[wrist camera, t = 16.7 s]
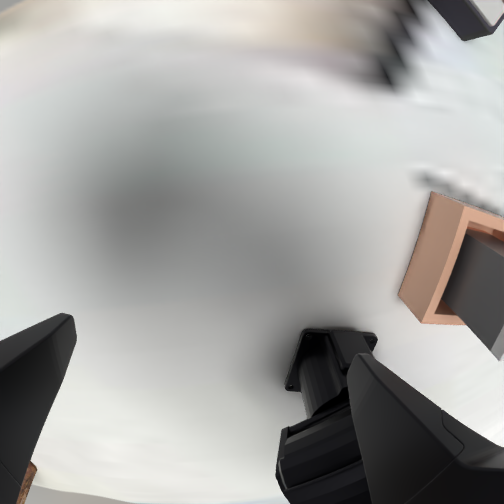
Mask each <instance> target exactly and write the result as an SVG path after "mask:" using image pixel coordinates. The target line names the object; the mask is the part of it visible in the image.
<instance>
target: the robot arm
mask: <svg viewBox="0 0 504 504" xmlns="http://www.w3.org/2000/svg"><path fill="white" fill-rule="evenodd" d="M306 335H310V336H309V337H306ZM371 339H372V340H371ZM370 340H371V341H370ZM377 340H378V339H377V336H376V335H375V334H373V333H361V332H354V331H339V330H331V331H329V330H317V329H306V330H304V331H303V332H302V333H301V336H300V339H299V343H298V346H297V349H296V352H295V355H294V358H293V361H292V364H291V367H290V370H289V373H288V376H287V378H286V381H285V389H286V390H287V391H295V392H302V397H303V401H304V406H305V410H306V415H307V420H304V421H302V422H300V423H298V424H296V425H293V426H291V427H289V426H288V427H286V428H284V429H282V431H281V438H280V444H279V451H278V457H277V464H276V474H275V476H276V479H277V481H278V484H279V486H280V489H281V491H282V492H283V494H284V496H285V497H286V498H287V500H288V501H289V503H290V504H504V447H501V446H498V445H496V444H494V443H493V442H491V441H489V440H488V439H486V438H485V437H483V436H481V435H480V434H478V433H476V432H475V431H473V430H471V429H470V428H468V427H467V426H465V425H464V424H462V423H461V422H459V421H458V420H456V419H455V418H453V417H452V416H451V415H449V414H448V413H447V412H445V411H444V410H441V408H440V407H439V406H437V405H436V404H435V403H433V402H432V401H430V400H429V399H428V398H426V397H425V396H424V395H422V394H421V393H420V392H418V391H417V390H416V389H414V388H413V387H412V386H410V385H409V384H408V383H406V382H405V381H404V380H402V379H401V378H400V377H398V376H397V375H396V374H394V373H393V371H390V370H389V369H388V368H387V367H385V366H384V365H383V364H381V363H380V362H379V361H377V360H376V359H375V358H374V356H373V354H372V352H373V350H374V347H375V345H376V343H377ZM76 341H77V335H76V329H75V322H74V318H73V316H72V315H69V314H65V313H60V314H57V315H55V316H53V317H51V318H49V319H47V320H44V321H42V322H40V323H38V324H36V325H34V326H31V327H29V328H27V329H25V330H23V331H21V332H18V333H16V334H14V335H12V336H10V337H8V338H6V339H4V340H1V341H0V504H16V503H17V500H18V497H19V493H20V490H21V486H22V483H23V480H24V477H25V474H26V471H27V468H28V465H29V463H30V460H31V457H32V454H33V452H34V449H35V446H36V444H37V441H38V438H39V436H40V433H41V431H42V428H43V426H44V423H45V421H46V419H47V416H48V414H49V411H50V409H51V407H52V404H53V402H54V400H55V398H56V395H57V393H58V391H59V389H60V386H61V384H62V382H63V379H64V376H65V374H66V370H67V367H68V365H69V362H70V359H71V356H72V353H73V350H74V347H75V345H76ZM290 385H292V386H290Z"/></svg>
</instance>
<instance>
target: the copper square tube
mask: <svg viewBox="0 0 504 504" xmlns="http://www.w3.org/2000/svg"><path fill="white" fill-rule="evenodd" d="M467 226H468V227H472V228H476V229H480V230H483V231H486V232H488V233H489V234H491V235H493V236H495V237H496V238H498V239H500V240H502V241H503V242H504V217H502V216H500V215H497V214H495V213H492V212H489V211H487V210H484V209H481V208H479V207H476V206H473V205H471V204H468V203H465V202H462V201H459V200H456V199H453V198H450V197H448V196H445V195H441V194H438V193H435V192H431V196H430V199H429V203H428V207H427V210H426V214H425V217H424V221H423V224H422V227H421V231H420V234H419V237H418V240H417V243H416V246H415V249H414V252H413V255H412V258H411V261H410V264H409V267H408V270H407V272H406V275H405V278H404V281H403V283H402V286H401V289H400V291H399V294H398V296H399V297H400V298H401V300H402V301H403V302H404V303H405V304H406V306H407V307H408V308H409V309H410V311H411V312H412V313H413V314H414V315H415V317H416V318H417V319H418V320H419V322H420V323H422V324H445V325H466V324H465V323H464V322H463V321H462V320H461V319H460V318H459V317H458V316H457V315H456V314H455V313H454V311H453V310H452V309H451V308H450V307H449V306H448V305H447V304H446V303H445V302H444V301H443V300H442V299H441V297H442V294H443V292H444V290H445V287H446V285H447V282H448V280H449V277H450V275H451V272H452V269H453V267H454V264H455V261H456V259H457V256H458V253H459V250H460V247H461V244H462V241H463V238H464V235H465V232H466V229H467Z"/></svg>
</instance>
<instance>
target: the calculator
mask: <svg viewBox="0 0 504 504" xmlns="http://www.w3.org/2000/svg"><path fill="white" fill-rule="evenodd" d="M428 1H429V2H430V3H431V4H432V5H433V7H434V8H435V9H436V10H437V11H438V12H439V13H440V14H441V16H442V17H443V18H444V19H445V20H446V21H447V23H448V24H449V25H450V26H451V27H452V29H453V30H454V31H455V32H456V34H457V35H458V36H459V37H460V38H461V40H463V41H468V40H471V39H475V38H479V37H483V36H487V35H491V34H493V33H494V32H495V30H496V29H497V27H498V26H499V25H500V23H501V22H502V20H503V19H504V0H428Z"/></svg>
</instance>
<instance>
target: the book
mask: <svg viewBox="0 0 504 504" xmlns="http://www.w3.org/2000/svg"><path fill="white" fill-rule="evenodd" d="M36 471H37V468H36V467H35V465H34V464H33V463H32V462H31V461H30V463H29V465H28V468H27V471H26V474H25V477H24V480H23V483H22V486H21V490H20V493H19V497H18V500H17V503H16V504H24V503H25V500H26V497H27V495H28V492H29V489H30V486H31V484H32V481H33V479H34V476H35V474H36Z"/></svg>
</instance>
